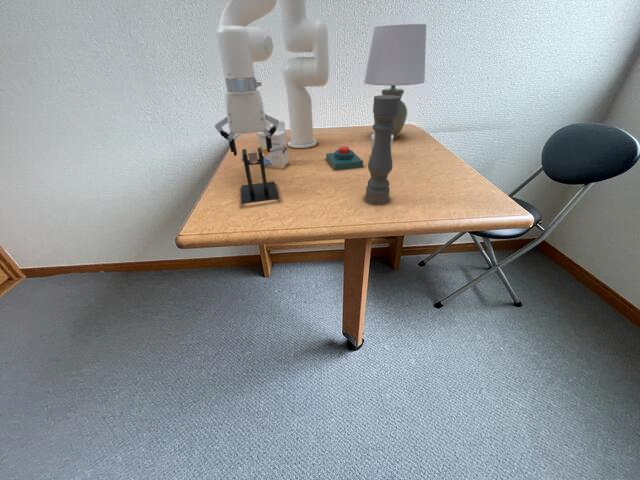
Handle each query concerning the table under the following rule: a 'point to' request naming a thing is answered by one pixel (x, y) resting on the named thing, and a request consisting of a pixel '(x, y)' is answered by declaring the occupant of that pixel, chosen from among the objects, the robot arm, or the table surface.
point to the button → (344, 150)
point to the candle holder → (381, 148)
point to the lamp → (397, 62)
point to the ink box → (274, 145)
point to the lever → (253, 158)
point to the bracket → (259, 190)
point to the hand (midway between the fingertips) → (252, 152)
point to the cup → (374, 140)
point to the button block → (344, 160)
